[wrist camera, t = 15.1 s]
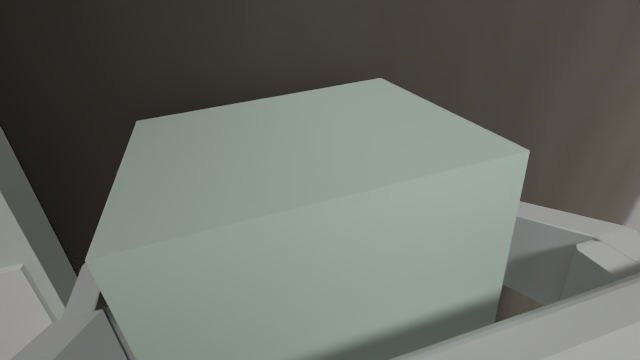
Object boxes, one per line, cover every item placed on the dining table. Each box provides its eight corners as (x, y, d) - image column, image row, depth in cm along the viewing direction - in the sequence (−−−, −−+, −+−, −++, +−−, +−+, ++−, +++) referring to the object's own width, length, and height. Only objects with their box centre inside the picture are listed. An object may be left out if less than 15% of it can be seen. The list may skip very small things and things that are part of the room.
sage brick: (136, 121, 8) (85, 260, 4) (380, 78, 10) (529, 150, 5) (201, 308, 11) (210, 501, 7) (382, 255, 13) (480, 391, 8)
